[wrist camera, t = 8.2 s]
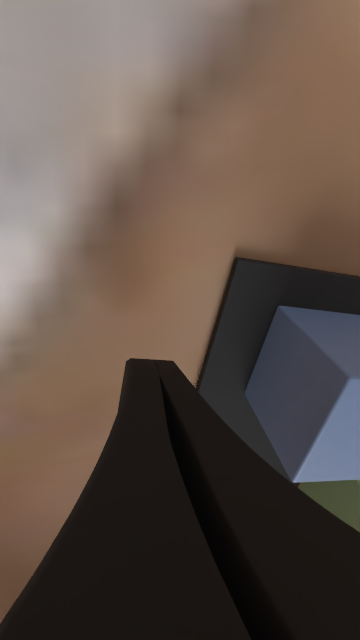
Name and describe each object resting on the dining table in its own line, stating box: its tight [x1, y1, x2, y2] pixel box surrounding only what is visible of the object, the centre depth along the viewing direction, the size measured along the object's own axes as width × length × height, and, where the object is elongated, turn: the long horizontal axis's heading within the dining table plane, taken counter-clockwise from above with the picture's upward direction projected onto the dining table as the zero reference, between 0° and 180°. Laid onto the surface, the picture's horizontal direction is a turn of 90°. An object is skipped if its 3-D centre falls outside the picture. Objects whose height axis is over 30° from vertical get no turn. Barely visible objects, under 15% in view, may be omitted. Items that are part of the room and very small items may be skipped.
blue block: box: [245, 306, 360, 483], centre depth 12 cm, size 4×4×4 cm
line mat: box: [196, 257, 360, 488], centre depth 18 cm, size 21×18×1 cm
